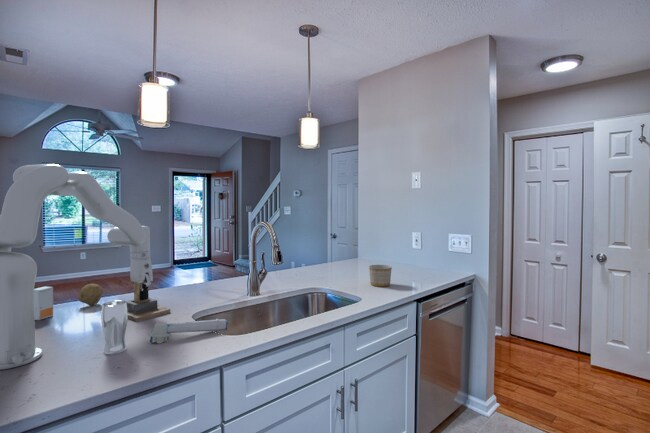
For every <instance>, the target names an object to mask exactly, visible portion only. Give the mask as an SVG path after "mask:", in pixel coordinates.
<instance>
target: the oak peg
mask: <svg viewBox="0 0 650 433" xmlns="http://www.w3.org/2000/svg"><path fill="white" fill-rule="evenodd" d="M145 282H146V281H144V282H143V283H145ZM144 285H145V284H143V286H144ZM140 291H141V288H140V283H137V282H134V288H133V300H134V303H137V304H138V303H143V302H147V301H149V298H150V295H149V293H148V299H146V300H140Z"/></svg>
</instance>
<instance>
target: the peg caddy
mask: <svg viewBox="0 0 650 433" xmlns="http://www.w3.org/2000/svg"><path fill="white" fill-rule="evenodd" d="M126 301H127V312H128V319H127V320H130V321H133V322H136V323H137V322H141V321H145V320H149V319H152V318H155V317H160V316H162V315H167V314H170V313H171V308H168V307H165V306H163V305H162V306H161V305H159V304H158V299H156V298H151V297H149V301H147V302H143V303H138V304H137V303H134V299H130V300H126Z"/></svg>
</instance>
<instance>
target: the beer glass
mask: <svg viewBox="0 0 650 433" xmlns="http://www.w3.org/2000/svg"><path fill="white" fill-rule="evenodd" d="M127 301H128V300H123V299H119V300H118V299H117V300H110V301H106V302H103V303H102V304H101V318H100V320H101V327H102V331H103V335H104V341H105V343H104V349H103V354H104V355H110V356H112V355H118V354H121V353H123V352H125V351H126V350H127V349H128V348H127V343H126V331H127V326H128V320H129V319H128V312H127Z"/></svg>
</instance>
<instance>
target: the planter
mask: <svg viewBox="0 0 650 433" xmlns="http://www.w3.org/2000/svg"><path fill="white" fill-rule="evenodd" d="M392 268H393V267H392V266H391V265H388V264H371V265H369V266H368V269H369V270H368V271H369V272H368V273H369V280H370V281H369V283H370V285H371V286H373V287H377V288H386V287H389V286H390V285H391V276H392V270H393V269H392Z"/></svg>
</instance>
